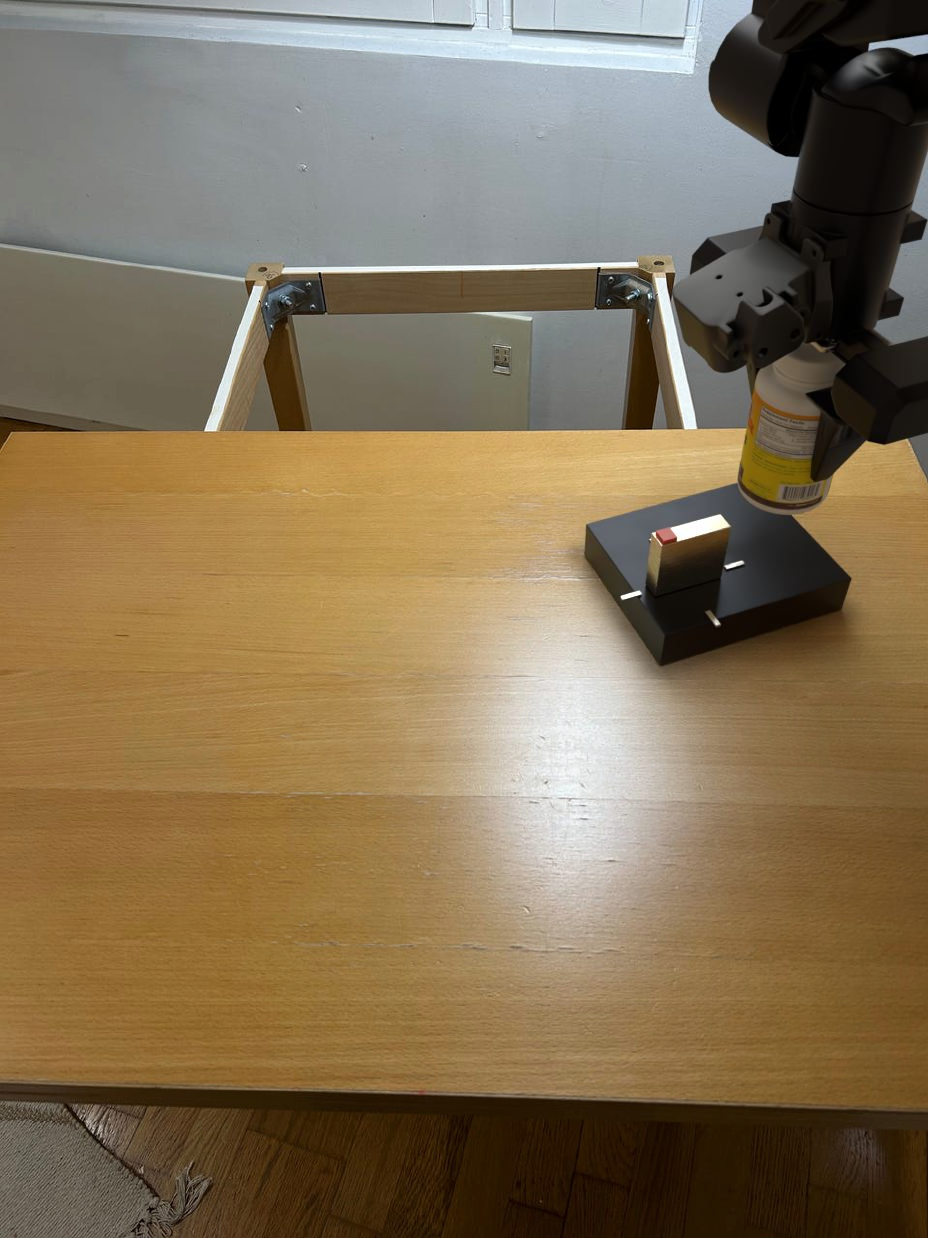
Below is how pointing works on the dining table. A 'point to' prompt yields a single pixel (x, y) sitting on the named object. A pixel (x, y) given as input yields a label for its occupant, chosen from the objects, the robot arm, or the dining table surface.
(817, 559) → the console
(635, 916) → the dining table surface
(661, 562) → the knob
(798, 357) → the supplement bottle
